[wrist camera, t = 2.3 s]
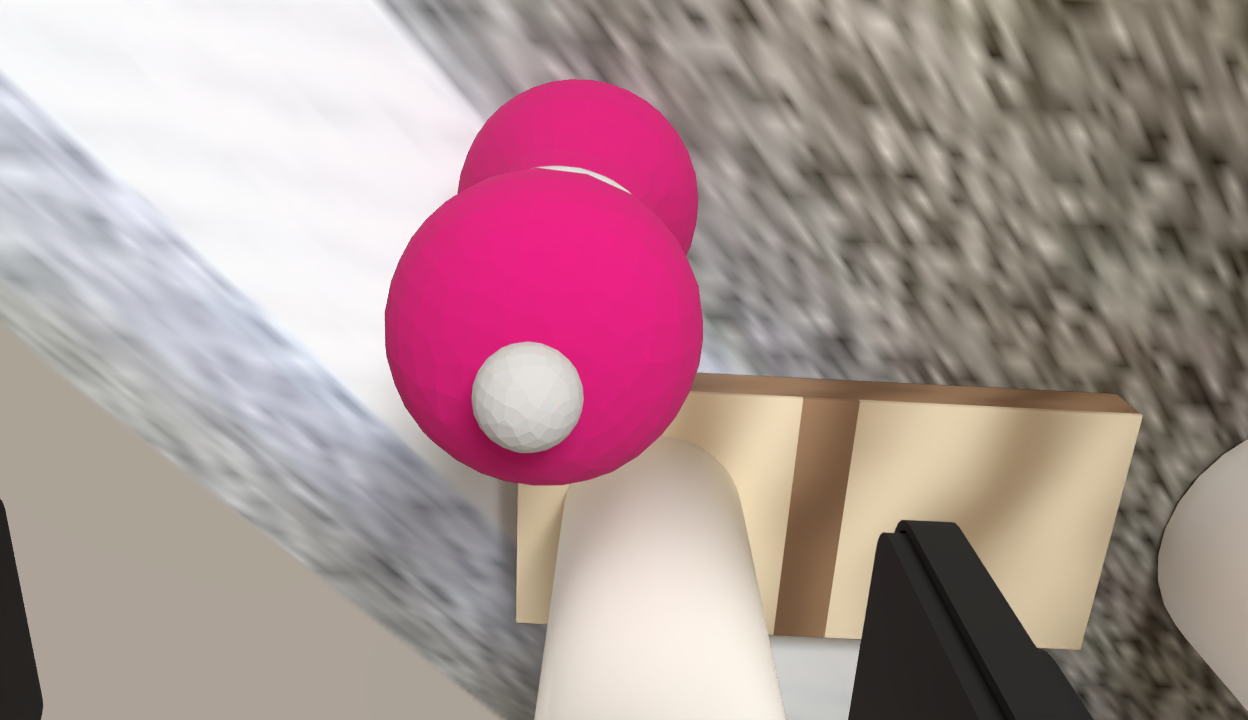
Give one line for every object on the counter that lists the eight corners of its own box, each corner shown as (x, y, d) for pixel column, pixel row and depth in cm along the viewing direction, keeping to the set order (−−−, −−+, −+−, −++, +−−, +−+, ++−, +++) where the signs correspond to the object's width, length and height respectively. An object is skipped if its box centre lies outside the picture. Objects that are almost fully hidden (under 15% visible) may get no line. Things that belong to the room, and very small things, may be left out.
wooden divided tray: (1116, 393, 36) (1142, 416, 34) (1059, 618, 39) (1080, 649, 38) (525, 364, 36) (519, 385, 34) (521, 592, 39) (516, 622, 37)
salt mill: (750, 440, 34) (898, 1022, 15) (733, 596, 37) (843, 1273, 17) (565, 431, 34) (476, 1003, 15) (561, 587, 37) (478, 1257, 17)
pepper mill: (720, 108, 32) (837, 272, 14) (651, 304, 35) (671, 669, 16) (512, 38, 32) (335, 110, 13) (457, 243, 34) (242, 552, 15)
